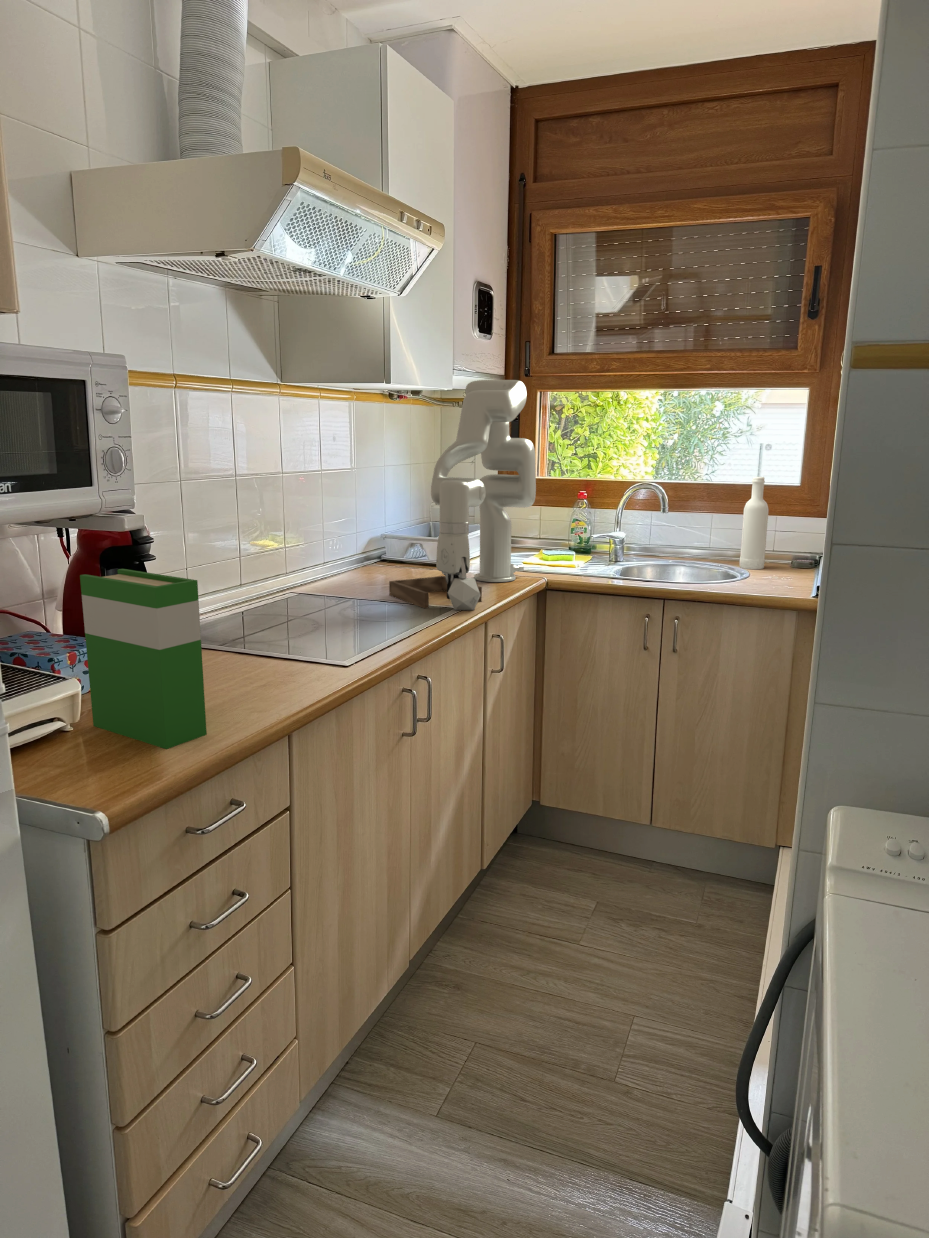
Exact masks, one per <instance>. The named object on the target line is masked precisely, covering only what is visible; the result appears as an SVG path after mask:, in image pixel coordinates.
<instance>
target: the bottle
mask: <svg viewBox="0 0 929 1238" xmlns="http://www.w3.org/2000/svg"><path fill="white" fill-rule="evenodd" d="M765 482H766V481H765V477H764V476H753V477H752V481H751V484H752V486H751V498H750V499H749V500H748V501H746V502H745V505H744V506H743V517H742V530H741V541H740V543H741V544H740V555H739V556H740V557H739V568H740V569H743V570H745V569H746V570H763V569H764V568H765V563H766V562H765V561H766V559H765V558H766V547H767V546H766V545H767V536H768V535H767V534H768V533H767V532H768V523H769V522H768V521H769V506H768V503H767V501H766V500H765V499H764V490H765V489H764V488H765Z"/></svg>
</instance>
